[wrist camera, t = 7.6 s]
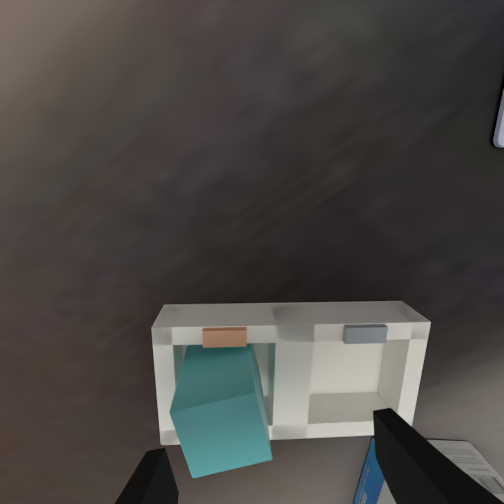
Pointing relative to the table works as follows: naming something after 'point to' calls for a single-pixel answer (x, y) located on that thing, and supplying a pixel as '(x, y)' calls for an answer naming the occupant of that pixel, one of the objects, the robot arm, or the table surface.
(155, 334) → the white divided tray
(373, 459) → the ink box
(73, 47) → the table surface
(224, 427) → the teal rectangular block
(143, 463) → the robot arm
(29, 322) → the table surface
